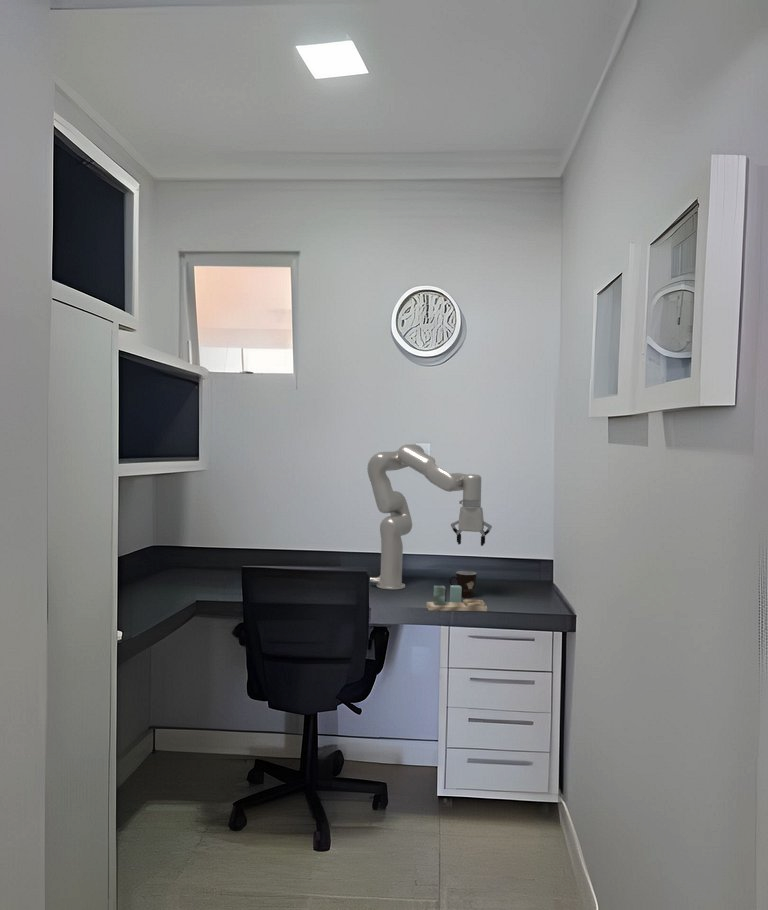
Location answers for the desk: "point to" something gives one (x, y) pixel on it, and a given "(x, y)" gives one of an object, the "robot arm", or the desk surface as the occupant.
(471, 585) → the coffee mug
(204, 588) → the desk surface
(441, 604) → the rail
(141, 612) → the desk surface
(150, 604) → the desk surface
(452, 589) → the pale green block
